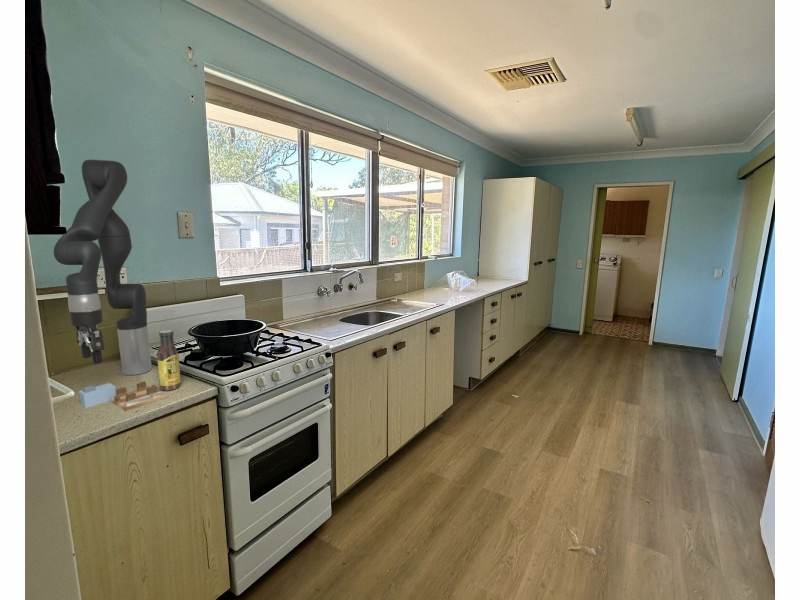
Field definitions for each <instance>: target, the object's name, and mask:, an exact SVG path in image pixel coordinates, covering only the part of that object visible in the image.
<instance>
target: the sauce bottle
mask: <svg viewBox="0 0 800 600" xmlns="http://www.w3.org/2000/svg"><path fill="white" fill-rule="evenodd" d="M158 333H159V338H160V342H159V343H160V346H159V348H158V350H157V352H156V354H157V360H156V362H157V371H158V385H159V390H161V391H164V392H165V391H167V392H168V391H173V390H176V389H178V388H180V386H181V371H180V358H179V357H180V356H179V354H180V353H179V351H178V350H177V348H176V345H175V343H174V330H172V329H163V330H160V331H159V332H158Z"/></svg>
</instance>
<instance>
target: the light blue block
mask: <svg viewBox="0 0 800 600" xmlns="http://www.w3.org/2000/svg"><path fill="white" fill-rule="evenodd" d="M81 389H82V390H79V391H78V394H79V400H80V401H79V402H80V405H81V406H82V407H84V408H85V409H86V408H87V409H88V408H90V407H93V406H97V404H98V405H101V404H104V403H107V402H106V401H108V402H111V401H110V398H112V397H114V396H117V392H116V386H115V385H114V384H112V383H111V382H108V383H103V384H101V385H98V386H97V385H96V386H95V385H93V384H92V385H88V386H85V387H82V388H81ZM103 402H104V403H103ZM100 403H101V404H100Z"/></svg>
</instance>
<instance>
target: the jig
mask: <svg viewBox="0 0 800 600" xmlns="http://www.w3.org/2000/svg"><path fill="white" fill-rule="evenodd" d="M136 389H137V390H133V391H130V392H127V387H126V386H123V387H119V388H115V391H116V396H114V397H112V398H110V401H109V402H111V403H113V404H114V405H116V406H117V407H118V408H120V409H122V410H123V411H124V412H127V411H129V410H134V409H135V408H139V407H142V406H145V405H148V404H151V403H154V402H157V401H161V400H164V399H166V398H167V394H165V393H163V392H162V390H161V391H160V390H159V388H158V385H155V384H151V386H147V382H146V381H139V382H137V383H136ZM163 398H164V399H163ZM160 399H161V400H160Z"/></svg>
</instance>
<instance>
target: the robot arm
mask: <svg viewBox="0 0 800 600" xmlns="http://www.w3.org/2000/svg"><path fill="white" fill-rule="evenodd" d="M81 174H82V175H81V176H82V180H83V183H84V186H85V190H86V193H87V196H88V200H87V201H85V203H84V204H83V205H81V207H79V209H78V211H77V212H76V214H75V217H74V219H73V221H72V224H71V226H70V227H69V228H68V229H67V230H66V231H67V233H66V234H65V233H64V234H63V235H61V237H60V238H59V239H58V240H57V241H56V243H55V245H54V247H53V256H54V259H55V261H57V262H58V263H60V264H61V265H63V266H64V265H65V266H82V267H81V269H80V271H79V272H75V273H71V274H70V273H69V274H68V275H67V276H66V277H65V282H66V283H65V285H66V289H67V305H68V312H69V313H68V314H69V319H70V324H71V326H72V327H75V336H76V343H77V344H78V346H79V347H80V350H81V356H82V357H81V358H83V359H87V358H91V361H92V364H93V365H99V364H102V363H103V355H102V351H103V350H105V346H104V336H103V331H102V329H98V328H97V325H100V324H101V323H103V321H104V319H103V309H102V303H101V298H100V297H101V296H100V294H99V287H98V273H99V267H100V262H101V259H102V265H103V271H104V280H105V289H106V290H105V291H106V297H107V303H108V304H109V306H110V307H111V308H112V309H113V310H132V312H131V314H129V315H128V316H125V317H122V318H120V319H117V321H116V330H117V338H118V339H117V340H118V347H119V353H120V354H119V355H120V362H121V371H122V375H126V376H135V375H141V374H145V373H147V372H149V371H151V370H152V369H153V368H152V358H151V357H152V356H151V348H150V339H149V338H150V337H149V330H148V329H149V328H148V311H147V293H146V289H145V287H144V285H143V284H141V283H121V279H120V277H121V270H122V268H123V266H124V264H125V263H126V261H127V259H128V258H129V255H130V253H131V251H132V247H133V244H132V239H131V233H130V229H129V227H128V226H127V224H126V223H125V221H124V220H123V219H122V218H121V217H120V216H119V214H118V213H117V212H116V211H115V210H114V209H113V207H114V205H115V204H116V203H117V201H118V200H119V198H120V196H121V195H122V193H123V191H124V190H125V188H126V186H127V183H128V173H127V170H126V168H125V166H124V164H122V163H121V162H119V161H116V160H104V159H86V160H84V161H83V162H82V165H81ZM95 241H97V242H98V244H97V243H95Z"/></svg>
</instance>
